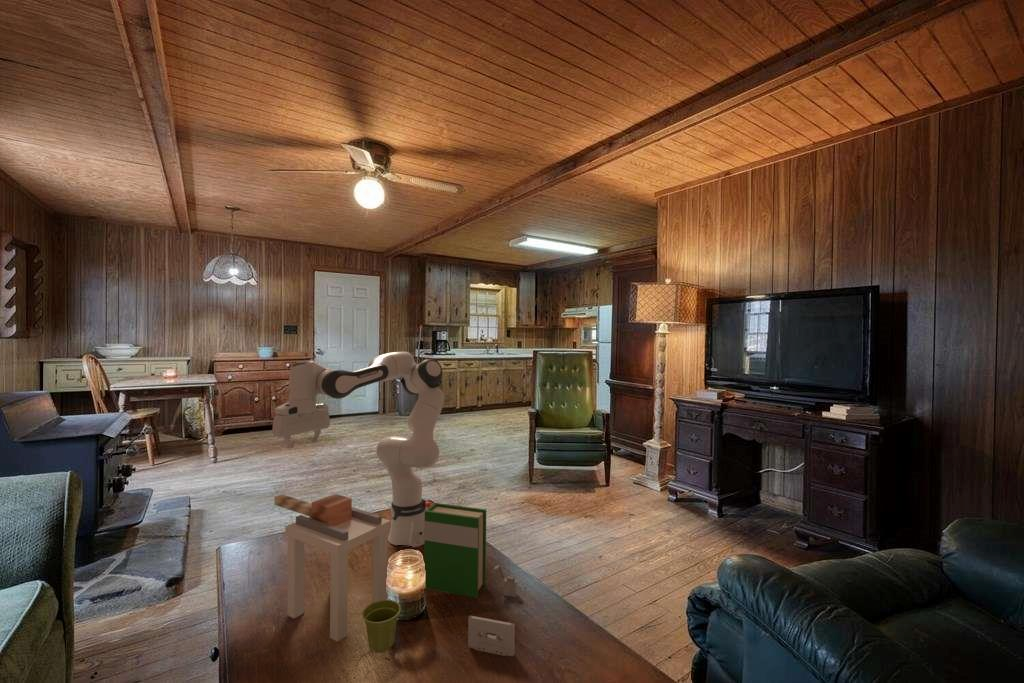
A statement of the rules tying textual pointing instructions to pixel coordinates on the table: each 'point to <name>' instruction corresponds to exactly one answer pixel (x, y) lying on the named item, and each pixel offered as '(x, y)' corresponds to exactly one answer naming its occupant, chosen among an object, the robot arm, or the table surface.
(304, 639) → the table surface
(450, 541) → the hardback book
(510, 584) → the lighter
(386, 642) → the plant pot
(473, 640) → the cassette
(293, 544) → the stand
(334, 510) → the mallet
